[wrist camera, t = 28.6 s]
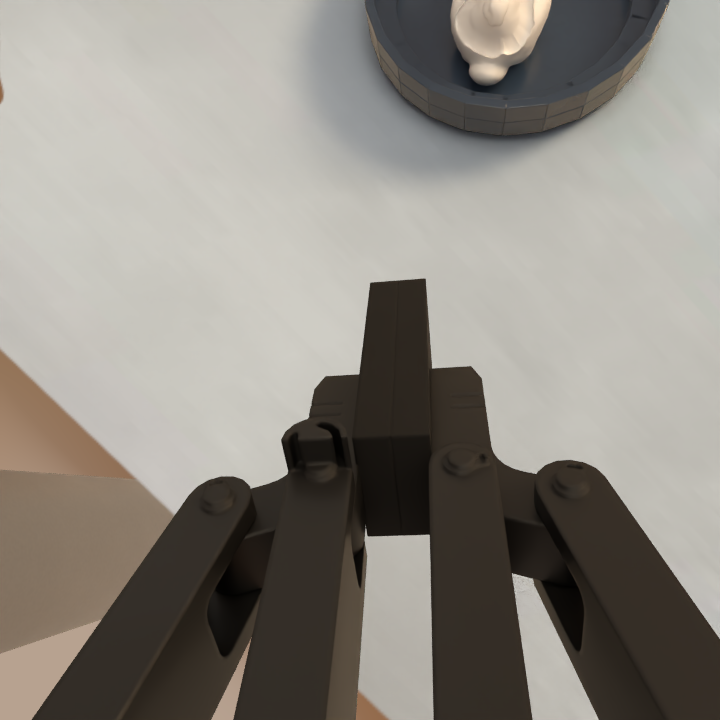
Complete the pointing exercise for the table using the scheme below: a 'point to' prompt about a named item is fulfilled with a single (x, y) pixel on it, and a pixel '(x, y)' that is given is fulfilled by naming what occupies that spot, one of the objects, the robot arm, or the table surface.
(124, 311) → the table surface
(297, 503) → the robot arm
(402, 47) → the bowl
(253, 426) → the table surface
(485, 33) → the rabbit figurine
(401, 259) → the table surface
